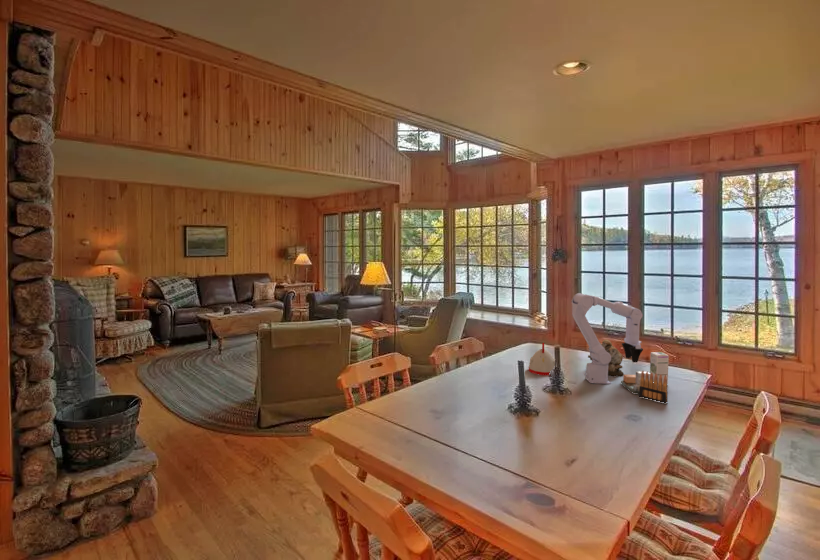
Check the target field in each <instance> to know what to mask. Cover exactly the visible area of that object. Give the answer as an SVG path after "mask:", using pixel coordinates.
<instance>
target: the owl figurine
mask: <svg viewBox="0 0 820 560" xmlns="http://www.w3.org/2000/svg"><path fill="white" fill-rule="evenodd" d="M600 344H601V345H602V346H603V347H604V349H605V350H606V352H608V353H609V354H610V355H611V361H610V363H608V377H614V376H616V377H618V376H620V377H623V375H624V371H622V369H623V365H622V362H623V358H624V357H623V354H622V353H620V351H619V349H618V348H617V347H615V346H614V345H613V343H612V342H611V340H609V339H604V340H602V342H600ZM587 358H589V359H590V361H592V358H591V356H590V354H589V355H587Z"/></svg>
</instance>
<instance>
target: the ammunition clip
mask: <svg viewBox="0 0 820 560" xmlns="http://www.w3.org/2000/svg"><path fill="white" fill-rule="evenodd" d="M644 372H646V376H645V380H644ZM648 372H649V371H645V370H642V373H641V380H640V389H639V394H638V398H639V397H644V398H648V399H652V400H656V401H660V402H664V403H666V402H668V385H667V377H666V375H665V377H664V382H663V384H662V375H661V374H660V376H659V383H658V377H657V373H656V374H655V377H654V383H653V374H652V372H651V374H650V381H649V374H648Z"/></svg>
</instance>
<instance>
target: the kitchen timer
mask: <svg viewBox="0 0 820 560" xmlns="http://www.w3.org/2000/svg"><path fill="white" fill-rule="evenodd" d="M541 344H542V347H541V348H540V349H538V350H536V351H535V352H534V354H533V355H532V356H531V357H530V359H529V364H528V365H529V366H528V371H529V372H530V373H531V374H534V375H538V374H539V375H538V376H550V375H549V373H550V371H551V370H552V369H553V368H554V366H555V360H556V358H554V357H553V355H552V353H551V352H550V351H549V350H548V349H545V342H542V343H541Z"/></svg>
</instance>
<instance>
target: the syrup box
mask: <svg viewBox="0 0 820 560" xmlns="http://www.w3.org/2000/svg"><path fill="white" fill-rule="evenodd" d="M669 357H670V355H668V354H666V353H665V352H661V351H655V352H654V351H652V352H650V361H649V362H650V365H649V366H650V367H649V373H650V374H651V372H652V374H653V382H654V377H655V374H656V373H657V377H658V383H659V376H660V374H661V375H662V384H663V382H664V377H665V375H666V377H667V384H669Z"/></svg>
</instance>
